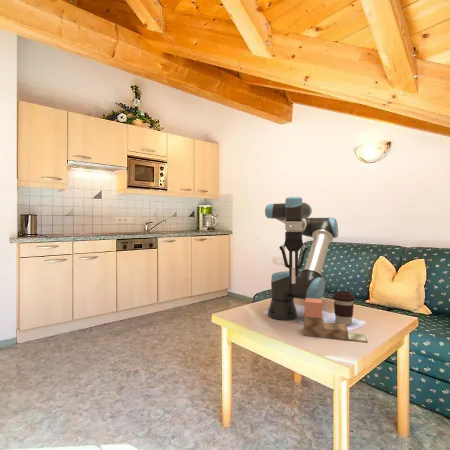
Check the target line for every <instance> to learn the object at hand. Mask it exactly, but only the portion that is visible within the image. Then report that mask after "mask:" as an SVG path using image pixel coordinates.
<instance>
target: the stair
mask: <svg viewBox="0 0 450 450" xmlns="http://www.w3.org/2000/svg"><path fill="white" fill-rule="evenodd" d="M347 326H348V325H346V324H337V323H333V322H324V314H323V313H322V319H313V318H305V312H304V313H303V336H304V337H312V338H322V339H329V340H330V339H331V340H338V341H339V340H340V341H349V342H356V343H367V344H368V339H367V336H366V334H361V333H354V332H349V330H348V327H347Z"/></svg>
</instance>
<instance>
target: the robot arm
mask: <svg viewBox="0 0 450 450" xmlns="http://www.w3.org/2000/svg"><path fill="white" fill-rule="evenodd" d="M312 213H313V211H312V207H311V205H310V204H309V203H306V202H303V198H302V197H301V196H288V197H285V202H284V203H282V202H281V203H280V202H279V203H274V202H273V203H267V204H266V206H265V209H264V214H265V217H266V219H275V220H278V221H280V222H281V223H282V224H284V226H285V227H284V228H285V229H284V231H285V233H284V234H285V235H284V238H285V239H284V242H283V243H284V244H282V245H280V246H279V248H278V249H280V251H281V254H282V259H283V263H284V267H285V268H288V270H287V271H277V272H273V273H272V274H271V280H270V281H271V285H270V287H271V292H270V293H271V294H270V295H271V301H270V304H269V307H268V311H267V314H268V315H267V316H268V317H270V318H272V319H273V320H274V319H275V320H279V321H280V320H283V321H289V320H290V321H291V320H295V319H297V318H298V310H297V307H296V304H295V299H299V300H305V298H315V299H323V295H324V293H325V290H326V289H325V287H326V281H325V279H324V278H323V277H324V276H323V275H322V271H323V268H324V263H325V261H326V257H327V254H328V253H327V252H328V248H329V245H330V244H331V243H332V242H333V240H334V239H337V238H338V236H339V225H338V221H337V219H336V218H335V217H329V216H328V217H310V216H311V215H312ZM303 236H305V237H308V238H312V239H313V240H312V243H311V246H310V250H309V246H306V245H305V244H304V242H303ZM285 249H286V250H287V251H288V254H289V255H288V258H287V255H286V251H285ZM301 249H302V254H301V257H300V262H299V251H300V250H301ZM308 250H309V253H308V257H307V260H306V263H305V266H304V268H303V265H304V264H303V263H304V262H305V261H304V260H305V257H306V252H307V251H308ZM293 252H294V267H293ZM301 268H303V269H301ZM299 269H301V271H300V273H299Z"/></svg>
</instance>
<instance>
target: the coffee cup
mask: <svg viewBox="0 0 450 450" xmlns="http://www.w3.org/2000/svg"><path fill="white" fill-rule="evenodd" d="M332 299H333V300H334V302H333V308H334V316H335V322H336V324H346V325H347V326H351V325H352V324H353V323H352V321H353V315H354V301H355V300H356V296H354V295H353V294H352V293H351V292H349V291H342V290H341V291H340V290H339V291H336V292H335V293H334V294H333V295H332Z"/></svg>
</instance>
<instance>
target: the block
mask: <svg viewBox="0 0 450 450" xmlns="http://www.w3.org/2000/svg"><path fill="white" fill-rule="evenodd" d="M322 299H323V298H321V299H315V298H305V299H304V313H305V318H313V319H322V314H323V313H322V309H323V307H322V306H323V305H322V304H323V301H322Z"/></svg>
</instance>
